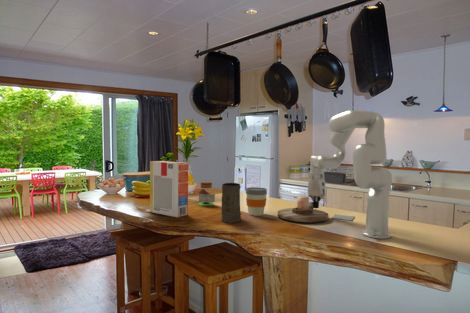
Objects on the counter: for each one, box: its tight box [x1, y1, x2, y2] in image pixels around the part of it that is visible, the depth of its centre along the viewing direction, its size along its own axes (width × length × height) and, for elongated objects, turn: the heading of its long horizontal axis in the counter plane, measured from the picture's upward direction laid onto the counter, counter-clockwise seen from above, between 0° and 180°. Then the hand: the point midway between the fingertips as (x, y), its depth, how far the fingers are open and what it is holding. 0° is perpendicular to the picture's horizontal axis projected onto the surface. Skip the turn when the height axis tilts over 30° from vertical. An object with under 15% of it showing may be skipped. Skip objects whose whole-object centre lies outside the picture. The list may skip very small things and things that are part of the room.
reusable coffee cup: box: [245, 186, 268, 217], centre depth 198 cm, size 13×13×15 cm
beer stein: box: [220, 182, 242, 224], centre depth 181 cm, size 15×11×20 cm
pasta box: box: [149, 160, 189, 218], centre depth 195 cm, size 23×8×30 cm, turn 56°
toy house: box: [197, 181, 216, 207], centre depth 225 cm, size 12×13×15 cm
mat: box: [330, 214, 355, 222], centre depth 192 cm, size 11×11×1 cm
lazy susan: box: [277, 201, 329, 223], centre depth 189 cm, size 28×28×6 cm
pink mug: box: [296, 195, 310, 211], centre depth 188 cm, size 9×6×9 cm
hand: (315, 207), depth 196 cm, fingers closed
